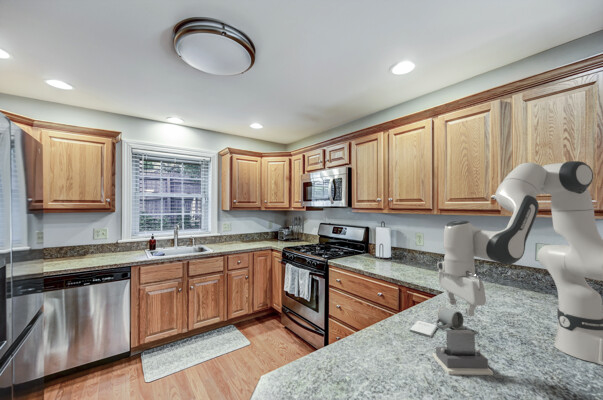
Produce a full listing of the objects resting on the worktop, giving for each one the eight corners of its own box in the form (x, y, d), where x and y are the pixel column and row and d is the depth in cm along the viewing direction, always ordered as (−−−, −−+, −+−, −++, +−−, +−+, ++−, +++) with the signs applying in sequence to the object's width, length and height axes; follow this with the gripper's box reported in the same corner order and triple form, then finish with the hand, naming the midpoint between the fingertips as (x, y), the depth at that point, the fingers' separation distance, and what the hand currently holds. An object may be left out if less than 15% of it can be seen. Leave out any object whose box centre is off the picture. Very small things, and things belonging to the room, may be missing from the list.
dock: (471, 356, 90) (471, 341, 90) (493, 374, 80) (492, 358, 80) (432, 356, 90) (432, 341, 90) (448, 374, 80) (448, 357, 80)
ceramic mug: (447, 320, 120) (447, 304, 120) (464, 328, 112) (463, 310, 113) (431, 324, 116) (430, 307, 116) (447, 332, 108) (447, 314, 108)
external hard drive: (409, 333, 108) (417, 323, 118) (430, 339, 103) (437, 328, 113) (409, 329, 108) (417, 319, 118) (430, 335, 103) (437, 324, 113)
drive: (470, 359, 86) (469, 330, 87) (475, 364, 84) (474, 333, 84) (446, 359, 86) (446, 329, 87) (451, 363, 84) (450, 333, 84)
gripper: (490, 275, 76) (493, 322, 75) (451, 262, 96) (452, 299, 96) (469, 276, 76) (471, 322, 75) (434, 262, 97) (436, 299, 96)
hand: (460, 309), depth 86 cm, fingers open, 8 cm apart
